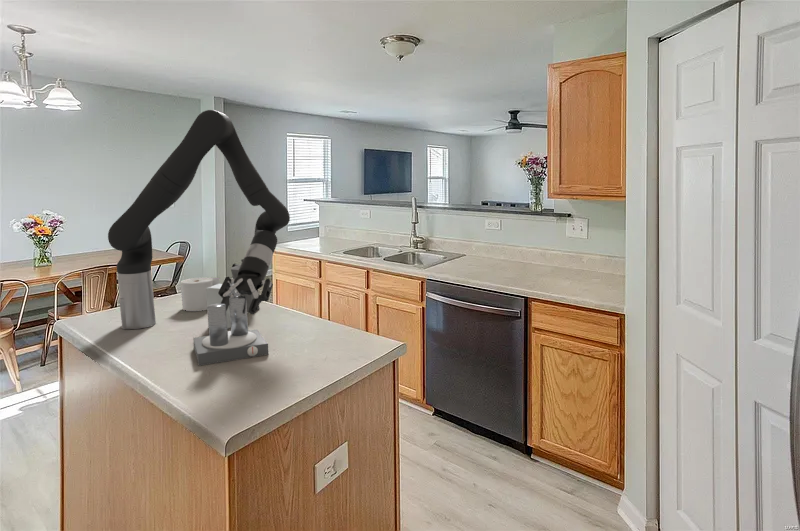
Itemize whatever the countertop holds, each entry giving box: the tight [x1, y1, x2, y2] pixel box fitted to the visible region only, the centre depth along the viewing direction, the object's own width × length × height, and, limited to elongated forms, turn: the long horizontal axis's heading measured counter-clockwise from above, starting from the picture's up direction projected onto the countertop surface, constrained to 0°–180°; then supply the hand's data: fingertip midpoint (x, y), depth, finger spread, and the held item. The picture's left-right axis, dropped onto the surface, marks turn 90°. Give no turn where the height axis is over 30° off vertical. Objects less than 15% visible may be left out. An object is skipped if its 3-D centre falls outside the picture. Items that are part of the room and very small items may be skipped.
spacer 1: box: [207, 304, 229, 346], centre depth 125 cm, size 4×4×10 cm
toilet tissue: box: [180, 276, 221, 312], centre depth 175 cm, size 11×12×10 cm
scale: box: [192, 328, 269, 366], centre depth 130 cm, size 17×14×4 cm
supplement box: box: [206, 283, 239, 330], centre depth 153 cm, size 7×7×13 cm
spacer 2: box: [229, 296, 249, 336], centre depth 133 cm, size 4×4×10 cm
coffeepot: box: [230, 258, 261, 314], centre depth 172 cm, size 15×9×18 cm, turn 44°
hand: (236, 311), depth 132 cm, fingers open, 8 cm apart
